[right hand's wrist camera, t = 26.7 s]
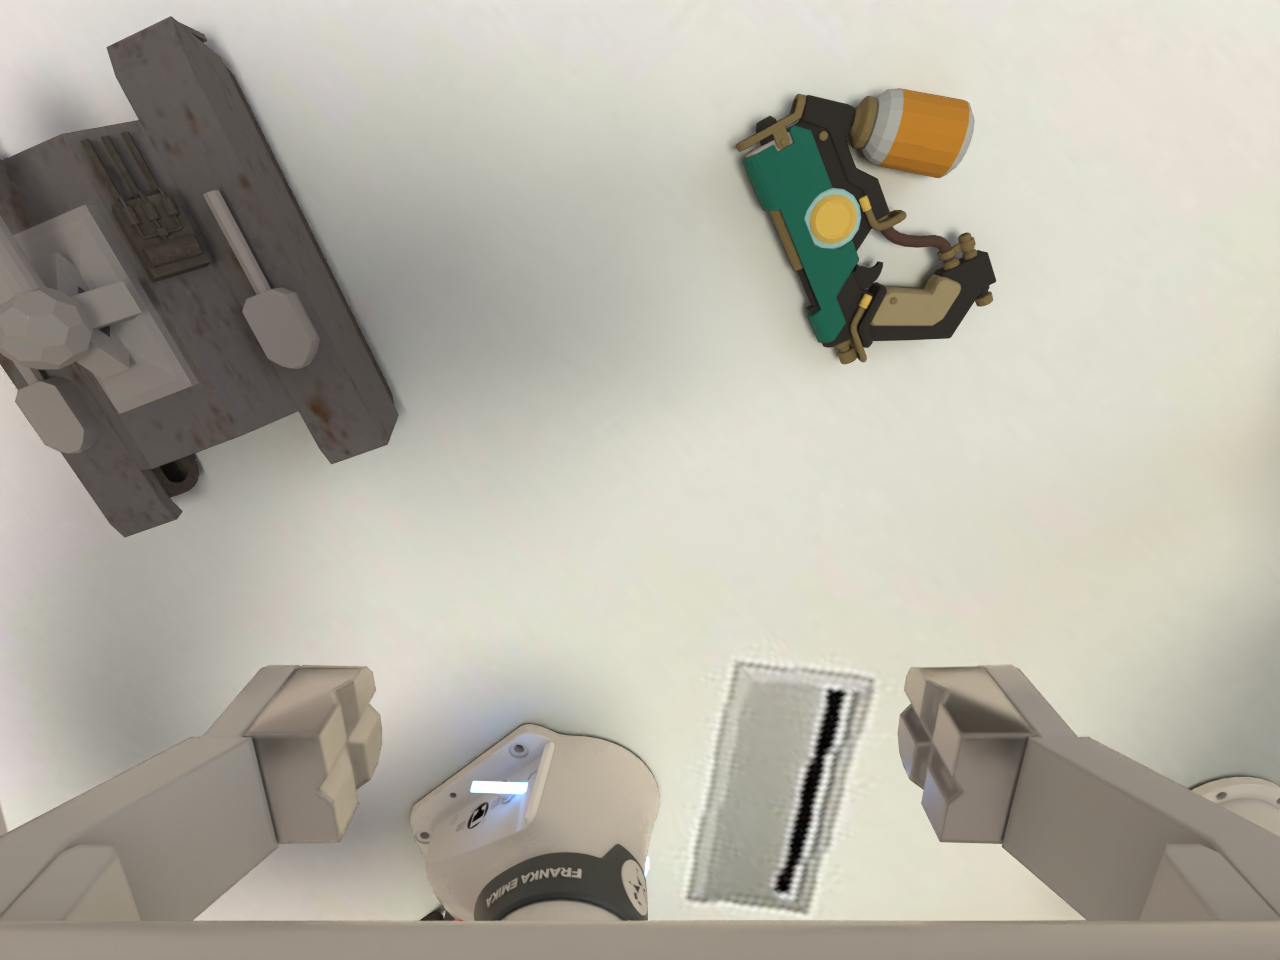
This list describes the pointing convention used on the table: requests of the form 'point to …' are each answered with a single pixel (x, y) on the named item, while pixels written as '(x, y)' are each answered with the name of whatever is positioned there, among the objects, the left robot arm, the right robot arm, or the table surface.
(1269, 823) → the left robot arm
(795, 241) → the spray gun
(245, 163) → the toy
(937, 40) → the table surface
